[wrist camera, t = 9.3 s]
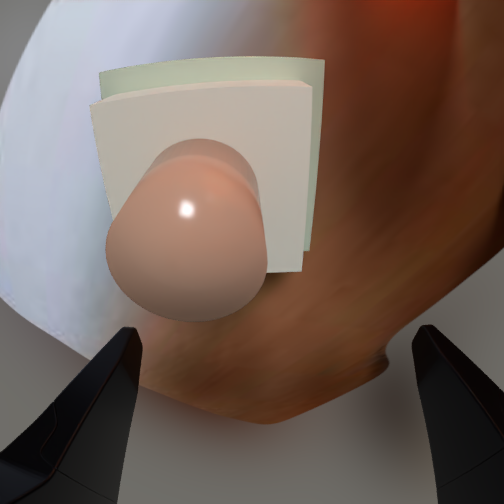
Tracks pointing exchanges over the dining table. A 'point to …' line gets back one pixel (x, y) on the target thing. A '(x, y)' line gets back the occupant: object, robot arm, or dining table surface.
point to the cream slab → (225, 131)
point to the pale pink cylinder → (191, 234)
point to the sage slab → (231, 71)
